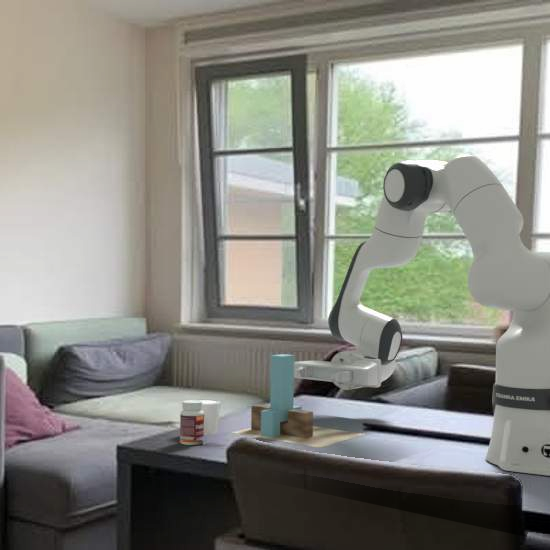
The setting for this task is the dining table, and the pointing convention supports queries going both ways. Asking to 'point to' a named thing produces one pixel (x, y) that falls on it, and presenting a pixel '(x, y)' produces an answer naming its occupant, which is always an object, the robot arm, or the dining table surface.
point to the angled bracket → (279, 395)
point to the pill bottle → (191, 422)
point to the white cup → (210, 416)
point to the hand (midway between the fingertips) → (315, 375)
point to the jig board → (312, 441)
